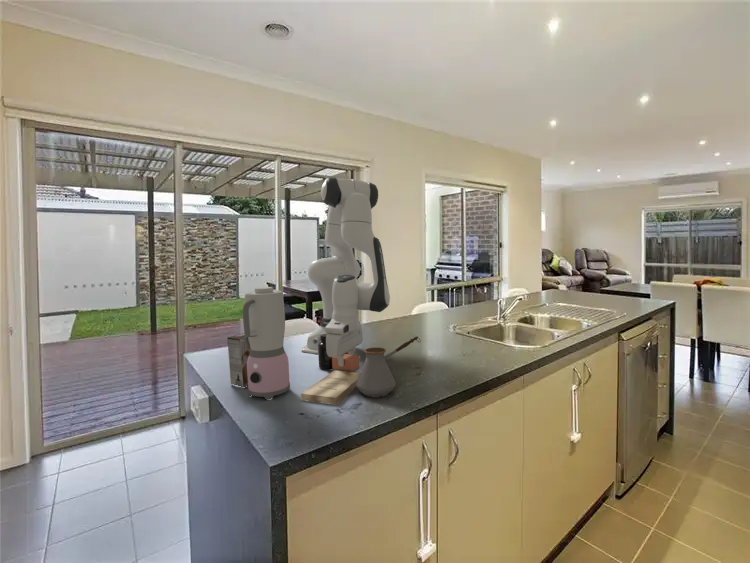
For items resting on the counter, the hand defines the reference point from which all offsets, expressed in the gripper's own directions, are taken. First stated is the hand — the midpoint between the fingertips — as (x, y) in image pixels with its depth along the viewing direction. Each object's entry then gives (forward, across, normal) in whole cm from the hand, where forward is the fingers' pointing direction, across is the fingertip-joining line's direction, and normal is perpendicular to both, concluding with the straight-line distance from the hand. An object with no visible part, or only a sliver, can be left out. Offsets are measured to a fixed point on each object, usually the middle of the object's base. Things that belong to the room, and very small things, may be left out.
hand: (346, 363), depth 136 cm
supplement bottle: (+4, -4, -9) cm, 11 cm away
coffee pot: (+3, +9, +20) cm, 22 cm away
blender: (+4, +26, -14) cm, 29 cm away
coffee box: (+4, +19, -26) cm, 33 cm away
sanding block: (+2, 0, 0) cm, 2 cm away
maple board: (+3, +14, +4) cm, 15 cm away
